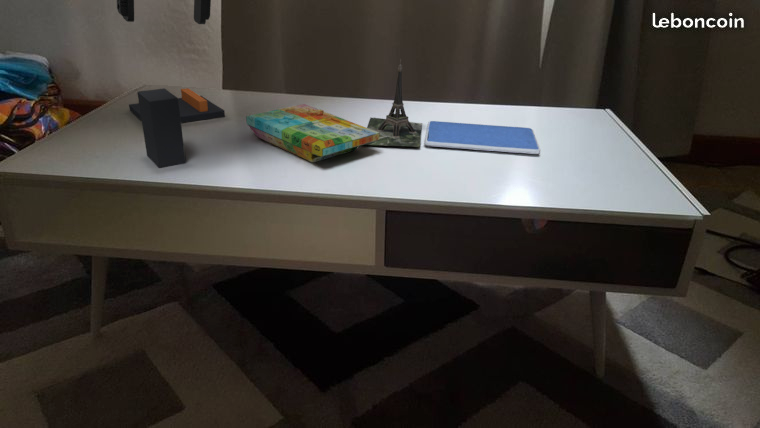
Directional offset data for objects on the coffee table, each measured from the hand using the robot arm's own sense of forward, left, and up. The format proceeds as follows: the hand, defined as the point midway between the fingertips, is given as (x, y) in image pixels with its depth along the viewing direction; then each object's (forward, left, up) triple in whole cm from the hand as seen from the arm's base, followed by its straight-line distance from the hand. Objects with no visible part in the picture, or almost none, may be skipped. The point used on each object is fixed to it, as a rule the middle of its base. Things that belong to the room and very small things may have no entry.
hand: (165, 21), depth 69 cm
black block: (+1, +11, -22) cm, 24 cm away
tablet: (+50, -7, -22) cm, 55 cm away
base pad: (+10, +33, -22) cm, 41 cm away
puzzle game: (+23, +5, -22) cm, 32 cm away
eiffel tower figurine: (+39, +3, -22) cm, 45 cm away
